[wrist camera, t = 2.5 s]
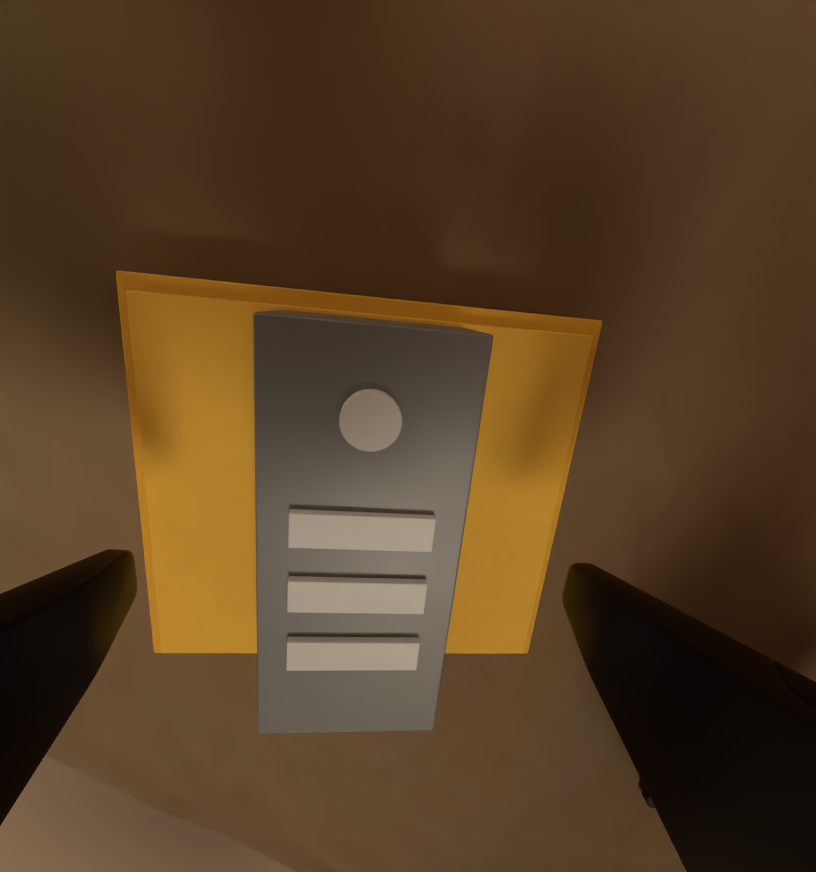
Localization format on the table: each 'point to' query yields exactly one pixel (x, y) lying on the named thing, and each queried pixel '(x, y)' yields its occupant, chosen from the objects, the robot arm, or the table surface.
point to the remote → (359, 514)
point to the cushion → (235, 454)
